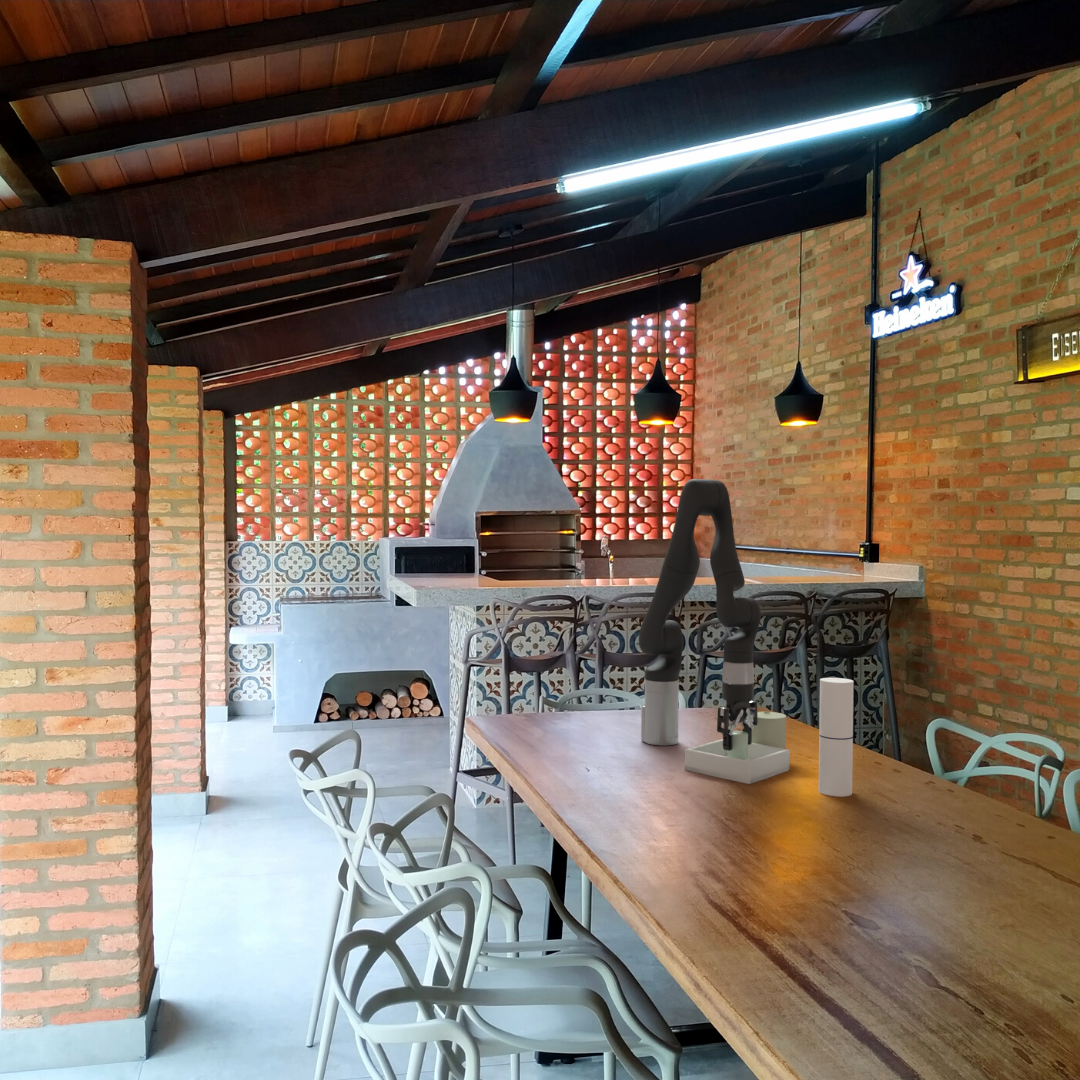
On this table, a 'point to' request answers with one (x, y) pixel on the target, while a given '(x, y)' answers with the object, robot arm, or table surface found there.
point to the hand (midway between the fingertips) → (737, 747)
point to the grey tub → (737, 762)
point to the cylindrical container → (836, 736)
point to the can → (770, 729)
